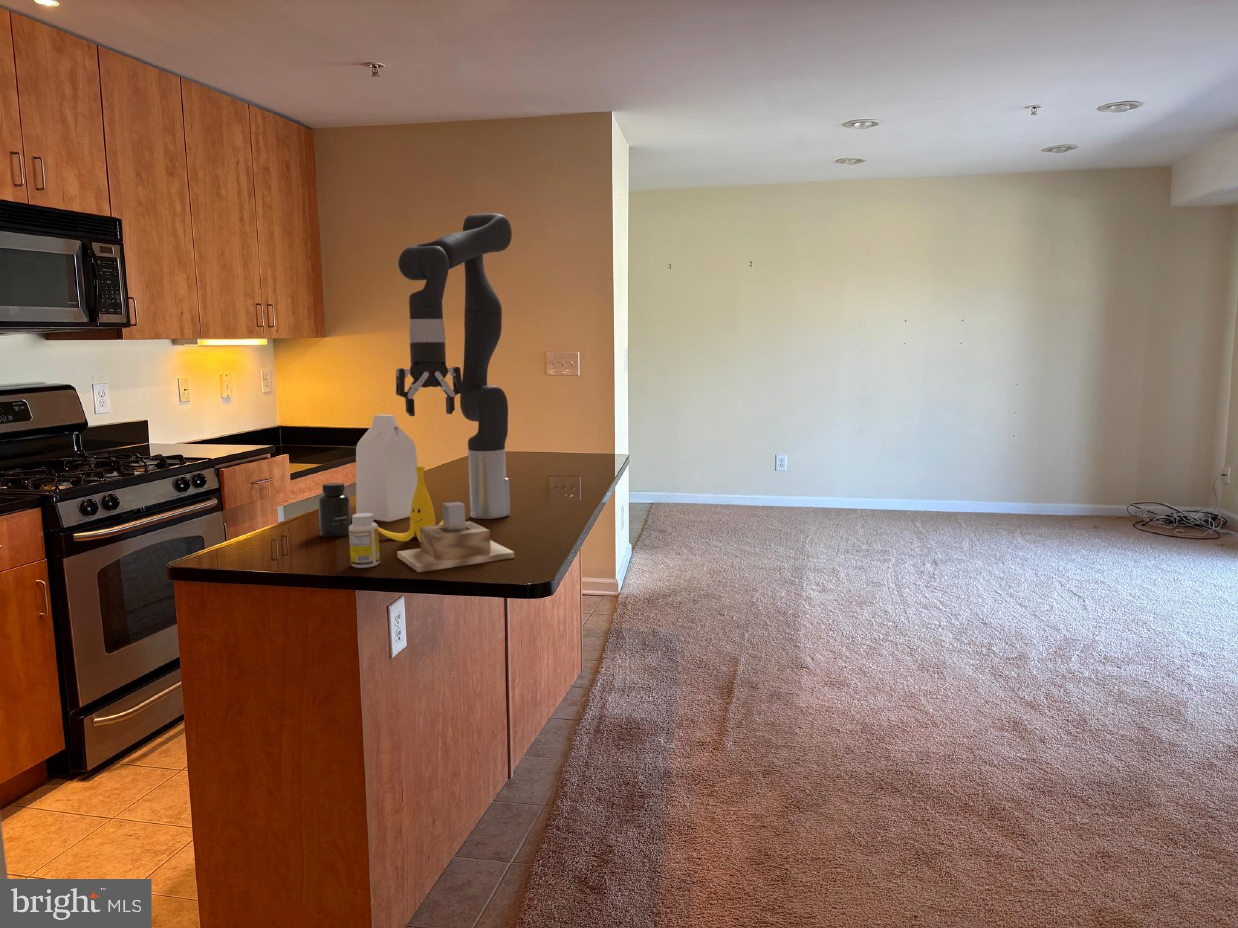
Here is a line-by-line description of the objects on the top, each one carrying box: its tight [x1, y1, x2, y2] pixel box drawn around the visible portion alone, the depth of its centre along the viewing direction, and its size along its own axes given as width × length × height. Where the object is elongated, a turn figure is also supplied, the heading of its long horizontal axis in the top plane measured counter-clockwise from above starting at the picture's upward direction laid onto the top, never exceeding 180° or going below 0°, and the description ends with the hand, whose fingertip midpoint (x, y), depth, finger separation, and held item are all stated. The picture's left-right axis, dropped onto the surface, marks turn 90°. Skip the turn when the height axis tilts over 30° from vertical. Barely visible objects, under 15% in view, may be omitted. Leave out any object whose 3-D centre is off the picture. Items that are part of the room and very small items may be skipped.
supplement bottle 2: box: [348, 513, 381, 569], centre depth 165 cm, size 6×6×10 cm
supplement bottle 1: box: [318, 482, 352, 539], centre depth 192 cm, size 7×7×12 cm
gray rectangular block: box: [442, 501, 466, 533], centre depth 170 cm, size 3×3×10 cm
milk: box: [355, 414, 419, 522], centre depth 213 cm, size 12×12×26 cm
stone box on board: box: [396, 520, 515, 573], centre depth 170 cm, size 20×14×6 cm
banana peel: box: [378, 465, 443, 543], centre depth 190 cm, size 17×19×17 cm
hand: (430, 415), depth 183 cm, fingers open, 8 cm apart
